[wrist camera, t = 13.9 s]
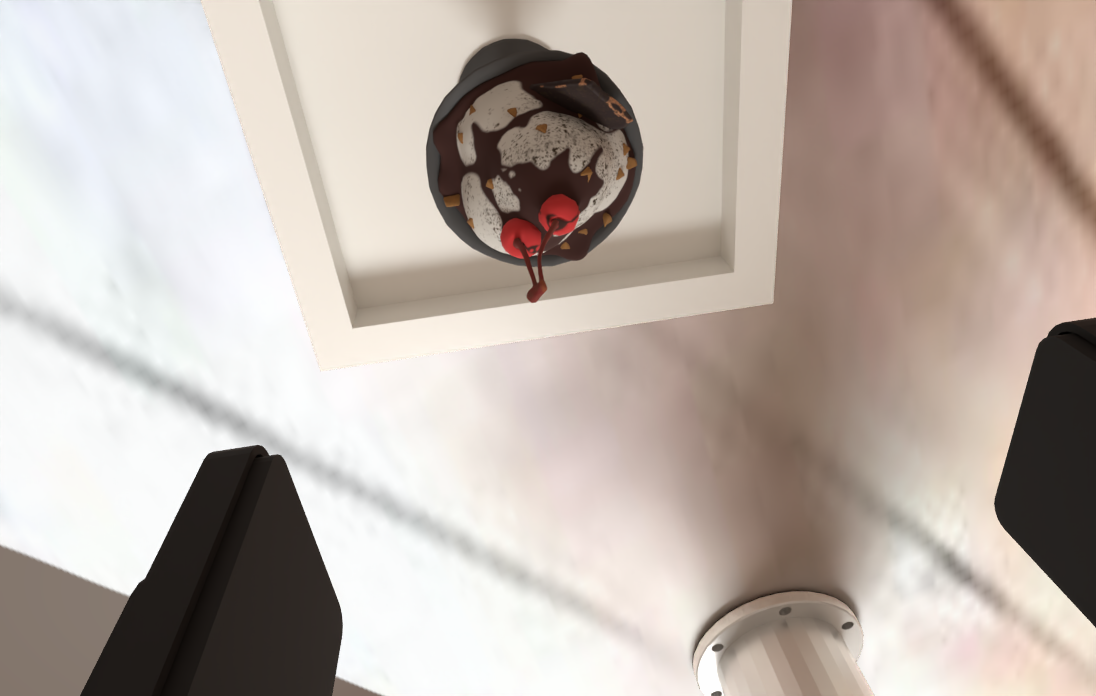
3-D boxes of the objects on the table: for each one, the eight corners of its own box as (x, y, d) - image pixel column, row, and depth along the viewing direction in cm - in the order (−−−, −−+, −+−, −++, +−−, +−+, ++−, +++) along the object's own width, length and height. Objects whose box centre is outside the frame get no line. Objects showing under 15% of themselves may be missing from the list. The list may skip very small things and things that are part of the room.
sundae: (474, 200, 32) (484, 377, 19) (409, 52, 29) (369, 147, 16) (610, 146, 32) (713, 292, 19) (561, -11, 28) (645, 35, 15)
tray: (751, 278, 37) (773, 303, 34) (330, 340, 36) (320, 371, 34) (775, -267, 26) (810, -290, 23) (165, -197, 25) (132, -212, 22)
